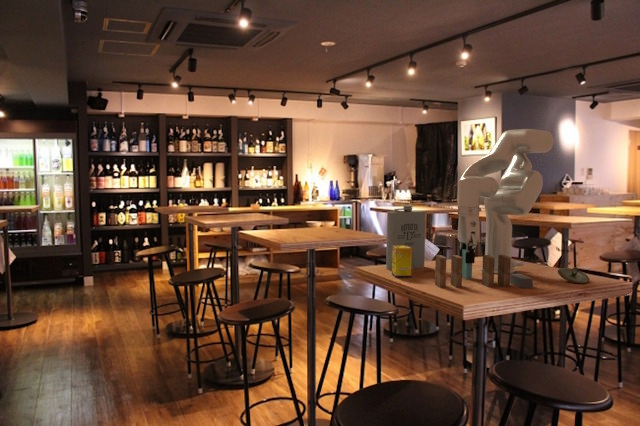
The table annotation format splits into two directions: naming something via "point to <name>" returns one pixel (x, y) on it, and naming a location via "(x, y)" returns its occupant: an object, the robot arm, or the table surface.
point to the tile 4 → (488, 270)
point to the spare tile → (466, 267)
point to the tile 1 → (440, 271)
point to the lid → (573, 275)
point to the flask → (406, 234)
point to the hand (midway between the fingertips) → (466, 261)
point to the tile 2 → (456, 271)
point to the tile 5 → (504, 270)
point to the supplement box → (401, 261)
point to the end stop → (521, 281)
